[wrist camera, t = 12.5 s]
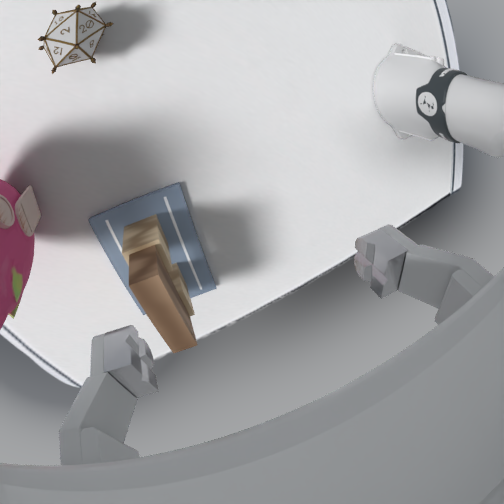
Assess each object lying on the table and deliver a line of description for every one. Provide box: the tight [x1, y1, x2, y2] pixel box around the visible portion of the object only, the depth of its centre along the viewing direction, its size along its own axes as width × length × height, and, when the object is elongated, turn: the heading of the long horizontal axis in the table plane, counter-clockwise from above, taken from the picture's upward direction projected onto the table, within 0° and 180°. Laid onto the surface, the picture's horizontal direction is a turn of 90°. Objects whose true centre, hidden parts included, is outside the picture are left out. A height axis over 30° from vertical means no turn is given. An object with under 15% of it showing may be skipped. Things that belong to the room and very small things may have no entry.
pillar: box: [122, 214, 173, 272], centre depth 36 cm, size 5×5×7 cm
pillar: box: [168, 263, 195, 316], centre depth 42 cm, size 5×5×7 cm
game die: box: [38, 2, 114, 74], centre depth 19 cm, size 9×8×10 cm
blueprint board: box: [89, 182, 216, 315], centre depth 42 cm, size 14×20×1 cm
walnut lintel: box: [129, 245, 197, 353], centre depth 34 cm, size 4×13×6 cm, turn 11°
